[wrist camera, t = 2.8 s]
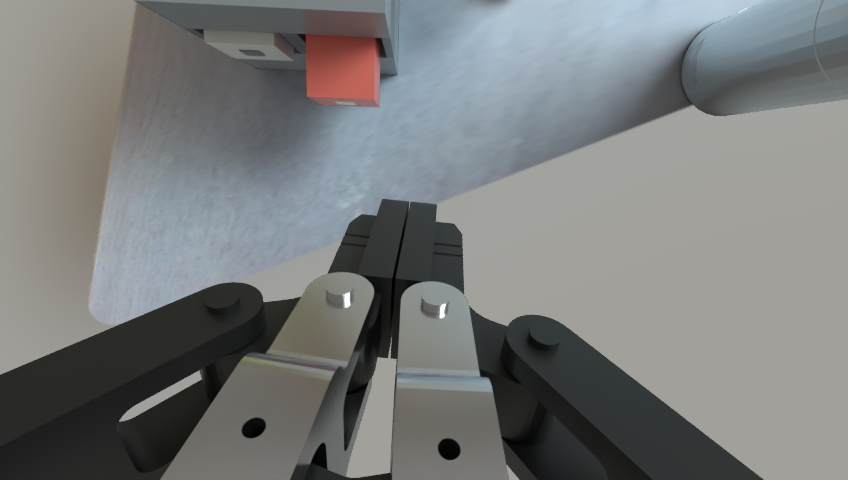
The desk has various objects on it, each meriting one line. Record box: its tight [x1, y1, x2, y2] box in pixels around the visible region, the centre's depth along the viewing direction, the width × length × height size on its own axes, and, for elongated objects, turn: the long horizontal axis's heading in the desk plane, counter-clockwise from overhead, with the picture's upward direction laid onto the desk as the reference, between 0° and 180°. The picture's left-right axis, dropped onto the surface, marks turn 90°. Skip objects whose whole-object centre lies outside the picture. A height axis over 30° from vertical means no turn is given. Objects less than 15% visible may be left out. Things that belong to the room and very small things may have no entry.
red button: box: [306, 34, 381, 107], centre depth 31 cm, size 5×6×5 cm
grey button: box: [204, 29, 294, 61], centre depth 31 cm, size 5×6×5 cm
